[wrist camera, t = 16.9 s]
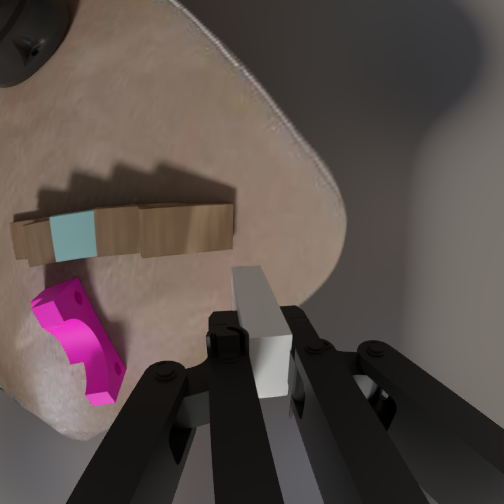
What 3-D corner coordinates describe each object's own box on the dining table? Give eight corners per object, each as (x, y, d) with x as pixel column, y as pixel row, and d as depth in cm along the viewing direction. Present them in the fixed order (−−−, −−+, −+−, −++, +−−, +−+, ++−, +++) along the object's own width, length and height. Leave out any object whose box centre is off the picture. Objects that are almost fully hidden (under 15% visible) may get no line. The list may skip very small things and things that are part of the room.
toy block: (45, 288, 34) (18, 312, 26) (78, 276, 34) (53, 300, 27) (93, 374, 38) (79, 407, 31) (126, 368, 38) (115, 402, 31)
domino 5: (227, 245, 35) (140, 253, 31) (227, 202, 33) (138, 207, 29) (232, 249, 33) (142, 258, 29) (233, 204, 32) (139, 209, 28)
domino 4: (183, 245, 34) (97, 252, 30) (183, 201, 33) (94, 207, 29) (186, 248, 33) (97, 256, 29) (186, 203, 31) (93, 209, 27)
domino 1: (78, 251, 33) (21, 256, 32) (72, 212, 32) (15, 220, 31) (73, 255, 32) (15, 259, 31) (67, 214, 30) (9, 223, 29)
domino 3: (135, 205, 31) (49, 217, 26) (139, 249, 32) (56, 262, 28) (134, 203, 32) (52, 215, 28) (138, 246, 33) (58, 258, 29)
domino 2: (104, 250, 33) (33, 263, 30) (97, 209, 32) (25, 224, 28) (102, 254, 32) (29, 267, 28) (95, 211, 30) (20, 226, 27)
